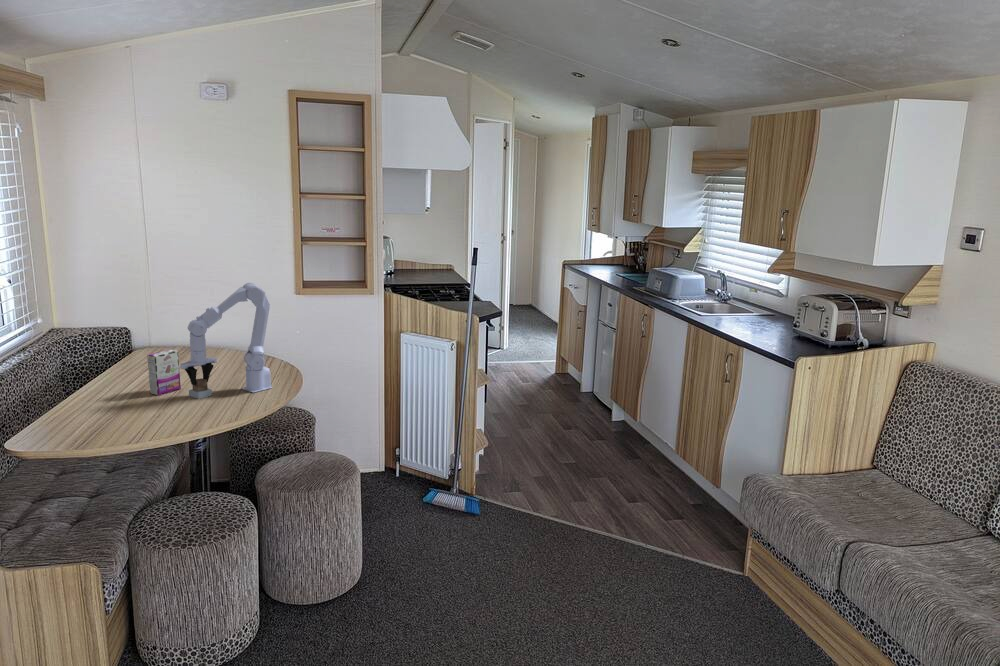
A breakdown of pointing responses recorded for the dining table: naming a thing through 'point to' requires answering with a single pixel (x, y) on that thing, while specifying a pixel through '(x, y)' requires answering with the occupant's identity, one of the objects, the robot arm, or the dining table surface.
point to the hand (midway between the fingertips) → (199, 383)
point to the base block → (200, 393)
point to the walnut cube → (200, 385)
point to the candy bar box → (164, 372)
